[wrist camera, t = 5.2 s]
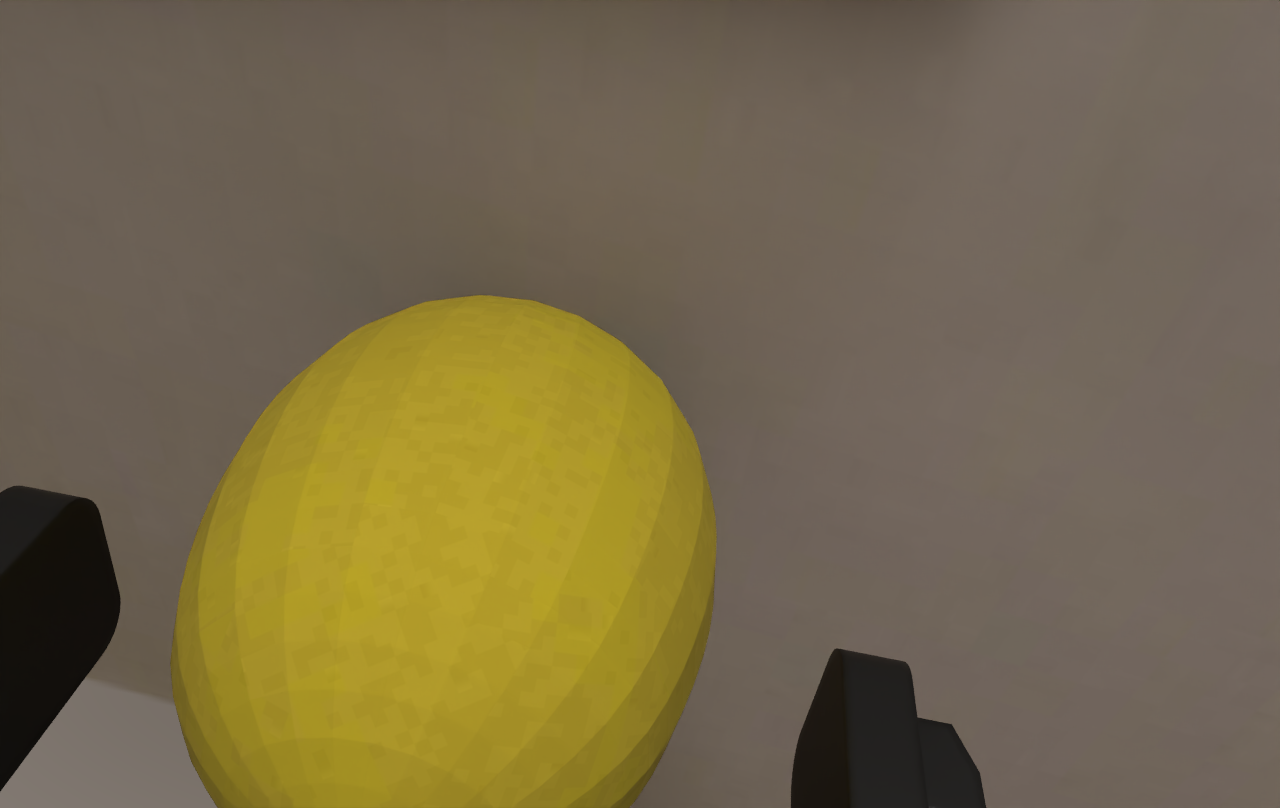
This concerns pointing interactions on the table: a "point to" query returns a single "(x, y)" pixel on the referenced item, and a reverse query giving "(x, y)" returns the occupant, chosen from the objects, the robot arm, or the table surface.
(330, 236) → the table surface
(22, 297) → the table surface
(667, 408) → the lemon
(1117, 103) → the table surface
